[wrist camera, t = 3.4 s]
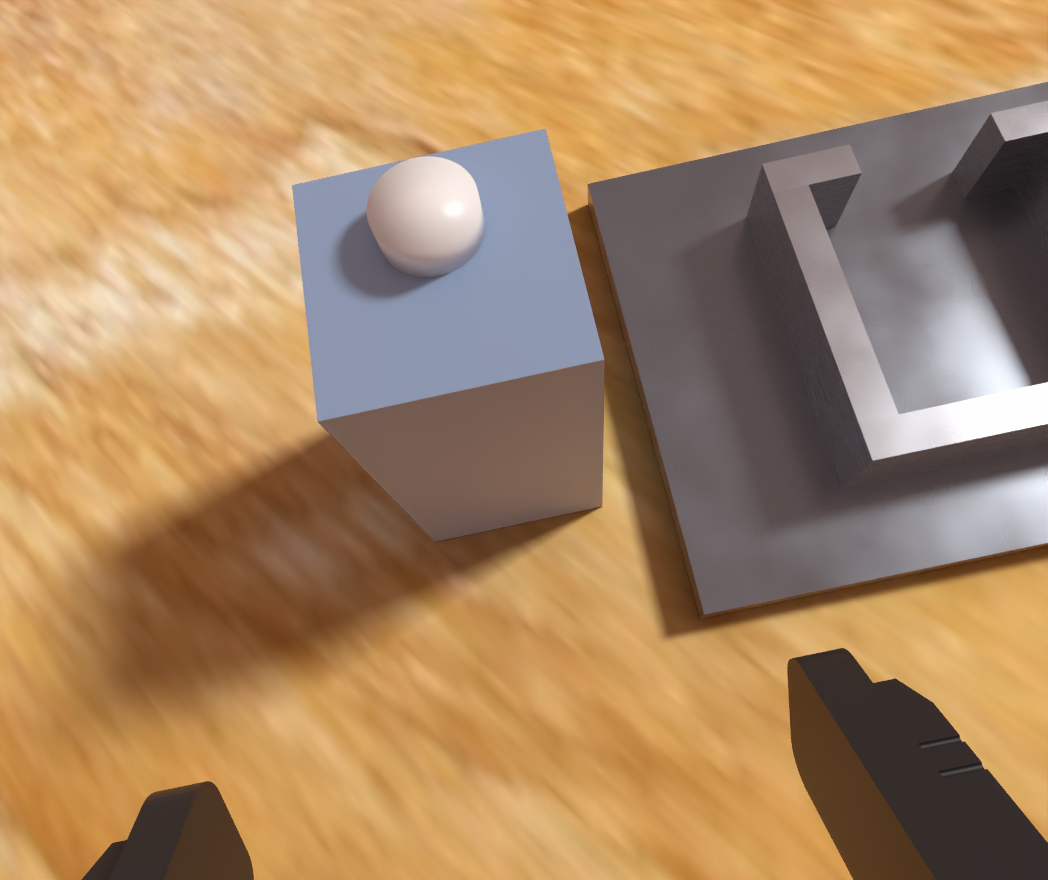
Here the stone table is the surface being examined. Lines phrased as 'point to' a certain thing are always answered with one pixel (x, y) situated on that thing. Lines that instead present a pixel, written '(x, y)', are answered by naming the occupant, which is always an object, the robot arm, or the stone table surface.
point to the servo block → (456, 335)
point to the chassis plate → (843, 347)
